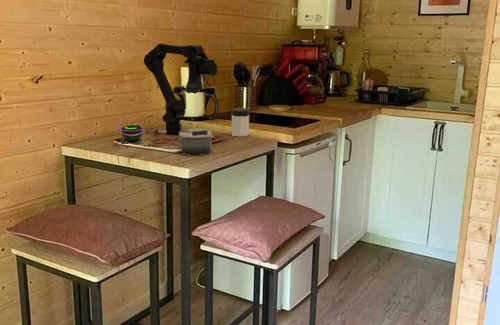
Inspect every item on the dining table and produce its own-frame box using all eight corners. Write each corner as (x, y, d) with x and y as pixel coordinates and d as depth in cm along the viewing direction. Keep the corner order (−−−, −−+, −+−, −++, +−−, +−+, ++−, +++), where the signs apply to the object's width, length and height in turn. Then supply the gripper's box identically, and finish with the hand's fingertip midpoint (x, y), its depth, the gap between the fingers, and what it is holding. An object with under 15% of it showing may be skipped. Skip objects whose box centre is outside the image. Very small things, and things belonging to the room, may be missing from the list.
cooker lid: (175, 132, 206) (175, 126, 205) (205, 130, 211) (205, 124, 210) (184, 139, 194) (184, 133, 194) (216, 137, 200) (216, 130, 199)
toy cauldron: (115, 149, 205) (113, 123, 202) (113, 141, 219) (112, 116, 216) (152, 147, 210) (151, 121, 207) (148, 139, 223) (147, 115, 220)
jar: (236, 137, 230) (236, 111, 226) (227, 134, 236) (227, 108, 233) (252, 135, 234) (253, 110, 231) (243, 132, 241) (243, 107, 238)
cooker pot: (175, 148, 209) (174, 132, 207) (204, 145, 214) (204, 130, 212) (185, 156, 196) (184, 140, 195) (216, 153, 202) (216, 137, 200)
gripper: (169, 75, 213) (170, 111, 217) (212, 76, 211) (212, 113, 215) (176, 73, 224) (176, 107, 228) (217, 74, 222) (217, 109, 226)
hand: (195, 109), depth 224 cm, fingers open, 9 cm apart
